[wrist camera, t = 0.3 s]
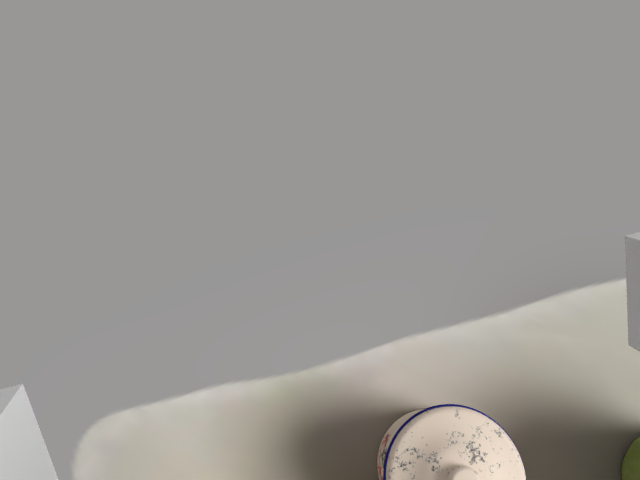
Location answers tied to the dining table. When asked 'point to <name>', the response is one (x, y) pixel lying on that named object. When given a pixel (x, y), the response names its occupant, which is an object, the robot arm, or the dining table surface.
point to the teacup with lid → (448, 447)
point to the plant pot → (632, 462)
